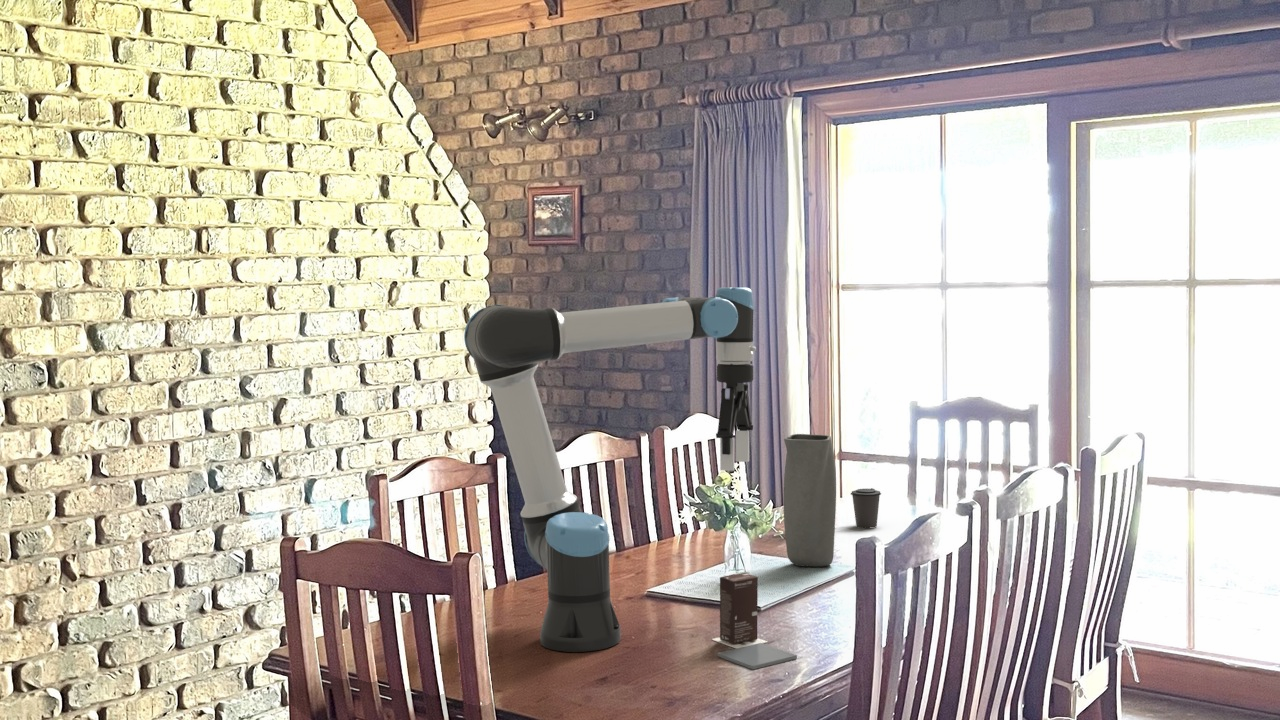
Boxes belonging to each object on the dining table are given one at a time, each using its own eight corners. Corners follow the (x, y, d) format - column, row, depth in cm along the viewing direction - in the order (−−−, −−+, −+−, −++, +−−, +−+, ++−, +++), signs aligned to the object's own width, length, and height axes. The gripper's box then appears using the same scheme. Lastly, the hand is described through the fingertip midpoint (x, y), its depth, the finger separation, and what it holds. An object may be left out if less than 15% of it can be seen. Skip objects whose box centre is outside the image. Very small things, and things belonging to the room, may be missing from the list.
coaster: (752, 669, 222) (752, 666, 222) (717, 656, 230) (717, 653, 230) (796, 658, 228) (796, 655, 228) (760, 646, 236) (760, 642, 236)
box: (734, 645, 236) (732, 581, 235) (719, 640, 240) (717, 576, 239) (760, 639, 239) (758, 575, 238) (745, 634, 243) (743, 571, 242)
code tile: (738, 649, 234) (738, 648, 234) (711, 639, 241) (711, 638, 241) (767, 642, 238) (767, 641, 238) (740, 633, 245) (740, 632, 245)
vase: (795, 557, 309) (792, 432, 307) (844, 560, 303) (841, 434, 301) (776, 567, 298) (773, 439, 296) (826, 572, 292) (824, 440, 290)
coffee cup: (886, 525, 345) (885, 487, 344) (875, 530, 338) (874, 492, 337) (858, 522, 349) (857, 486, 348) (846, 528, 342) (845, 490, 341)
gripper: (739, 366, 251) (739, 475, 252) (765, 359, 274) (765, 458, 276) (701, 366, 253) (702, 473, 254) (731, 359, 277) (731, 457, 278)
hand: (735, 466), depth 265 cm, fingers open, 13 cm apart
